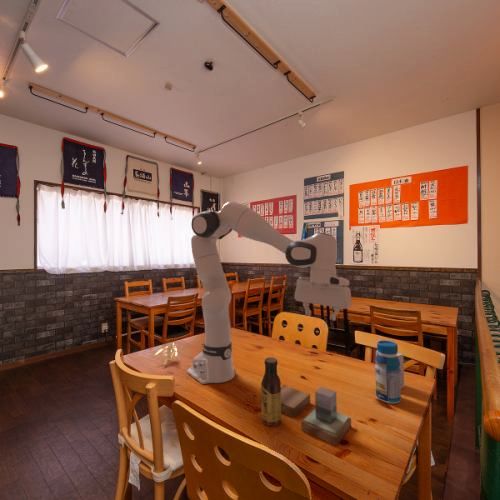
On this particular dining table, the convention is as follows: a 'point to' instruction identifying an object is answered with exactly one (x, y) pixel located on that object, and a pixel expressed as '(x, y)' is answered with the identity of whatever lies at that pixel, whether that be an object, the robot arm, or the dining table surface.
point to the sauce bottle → (271, 394)
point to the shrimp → (169, 352)
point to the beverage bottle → (388, 372)
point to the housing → (325, 405)
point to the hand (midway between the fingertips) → (319, 317)
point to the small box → (400, 357)
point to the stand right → (326, 427)
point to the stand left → (293, 401)
